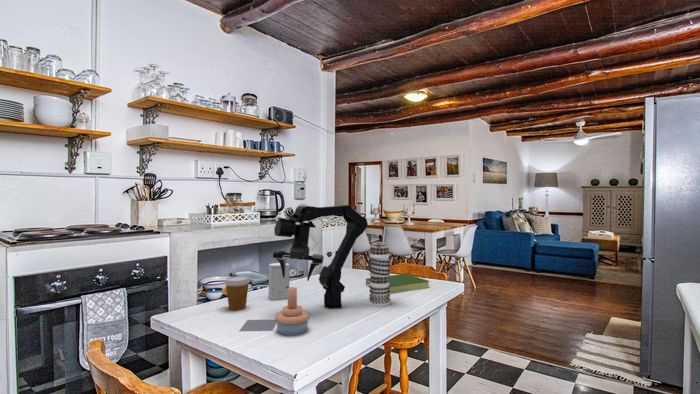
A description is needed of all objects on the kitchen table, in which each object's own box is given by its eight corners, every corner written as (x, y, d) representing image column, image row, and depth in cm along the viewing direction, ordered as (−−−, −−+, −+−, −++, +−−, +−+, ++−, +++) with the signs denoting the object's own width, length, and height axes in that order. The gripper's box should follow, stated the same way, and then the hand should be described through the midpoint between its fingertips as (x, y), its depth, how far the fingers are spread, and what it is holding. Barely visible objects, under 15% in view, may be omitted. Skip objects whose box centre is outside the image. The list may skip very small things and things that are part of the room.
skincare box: (270, 300, 160) (270, 265, 160) (268, 297, 166) (267, 263, 166) (290, 298, 164) (290, 264, 163) (287, 294, 169) (286, 261, 169)
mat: (278, 320, 135) (278, 319, 135) (272, 331, 124) (272, 330, 124) (247, 320, 135) (247, 319, 135) (239, 332, 124) (239, 331, 124)
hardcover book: (406, 280, 197) (406, 273, 197) (429, 288, 180) (429, 280, 180) (364, 286, 186) (364, 278, 186) (384, 295, 169) (384, 287, 169)
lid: (302, 311, 132) (302, 283, 132) (313, 320, 122) (313, 290, 122) (271, 316, 127) (271, 286, 127) (280, 326, 118) (280, 294, 117)
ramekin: (308, 325, 130) (308, 313, 130) (306, 336, 120) (306, 323, 120) (279, 325, 130) (279, 313, 130) (274, 336, 120) (274, 323, 120)
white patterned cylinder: (370, 299, 161) (369, 240, 161) (391, 300, 159) (391, 241, 159) (366, 305, 152) (366, 243, 152) (389, 306, 150) (389, 244, 150)
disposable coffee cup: (229, 305, 154) (229, 275, 154) (252, 305, 154) (252, 275, 154) (221, 312, 145) (220, 281, 145) (245, 312, 144) (245, 281, 144)
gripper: (272, 236, 136) (266, 279, 135) (323, 242, 136) (318, 285, 135) (278, 235, 148) (273, 275, 147) (325, 240, 147) (320, 281, 146)
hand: (295, 279), depth 143 cm, fingers open, 9 cm apart
